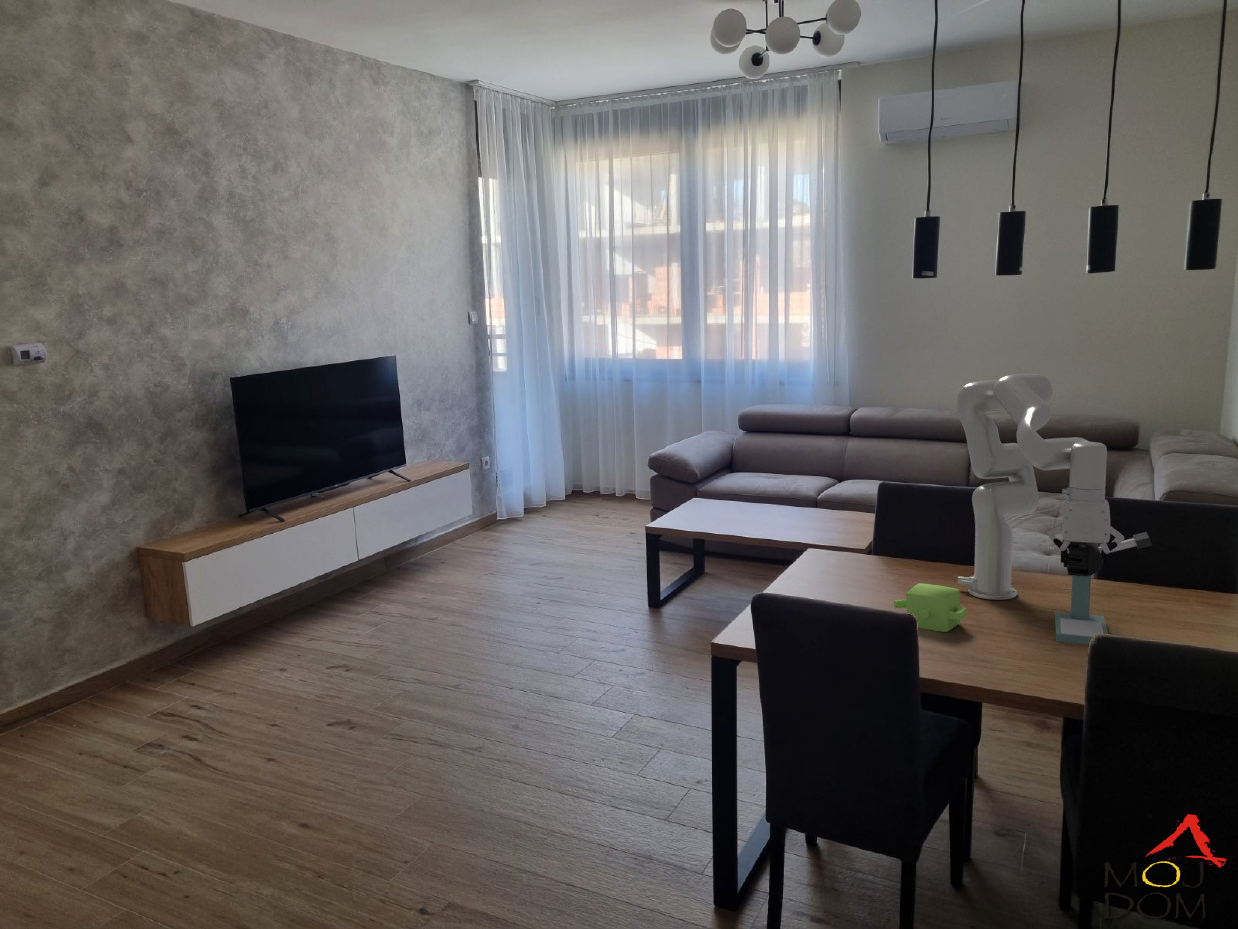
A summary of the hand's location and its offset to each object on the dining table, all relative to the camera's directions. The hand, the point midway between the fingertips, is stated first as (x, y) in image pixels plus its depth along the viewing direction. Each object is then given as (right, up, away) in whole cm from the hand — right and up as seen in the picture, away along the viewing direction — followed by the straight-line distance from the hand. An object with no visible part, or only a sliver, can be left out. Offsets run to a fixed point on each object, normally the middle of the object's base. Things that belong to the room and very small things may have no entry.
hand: (1083, 566), depth 210 cm
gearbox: (-32, -17, +15) cm, 39 cm away
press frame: (+2, -17, +5) cm, 18 cm away
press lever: (+10, +3, +5) cm, 11 cm away
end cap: (0, -1, 0) cm, 1 cm away
